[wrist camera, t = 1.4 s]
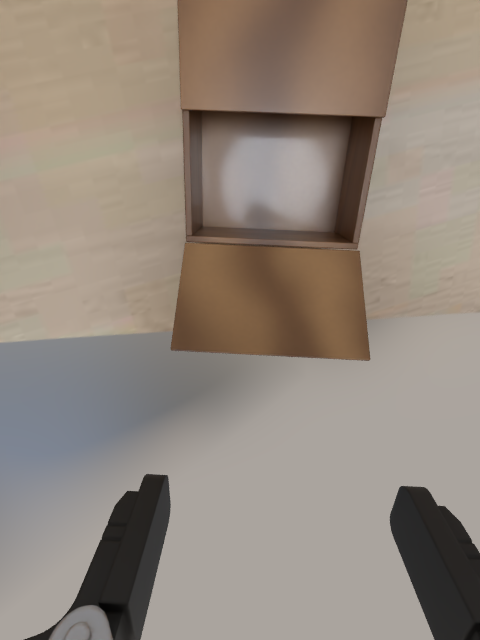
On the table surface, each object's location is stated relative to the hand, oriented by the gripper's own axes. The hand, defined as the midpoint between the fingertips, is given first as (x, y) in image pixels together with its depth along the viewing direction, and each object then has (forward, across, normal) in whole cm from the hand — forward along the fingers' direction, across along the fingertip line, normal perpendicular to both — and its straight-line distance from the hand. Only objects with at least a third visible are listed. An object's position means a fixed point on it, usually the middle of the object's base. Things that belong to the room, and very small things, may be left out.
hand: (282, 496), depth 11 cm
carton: (+25, 0, +14) cm, 29 cm away
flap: (+15, 0, +2) cm, 15 cm away
